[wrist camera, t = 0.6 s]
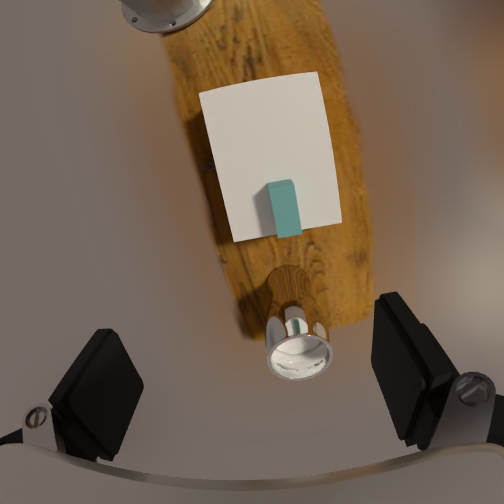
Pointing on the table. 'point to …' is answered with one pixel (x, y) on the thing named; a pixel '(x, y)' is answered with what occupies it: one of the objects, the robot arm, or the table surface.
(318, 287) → the table surface
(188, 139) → the table surface
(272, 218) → the box lid
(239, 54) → the table surface
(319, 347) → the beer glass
